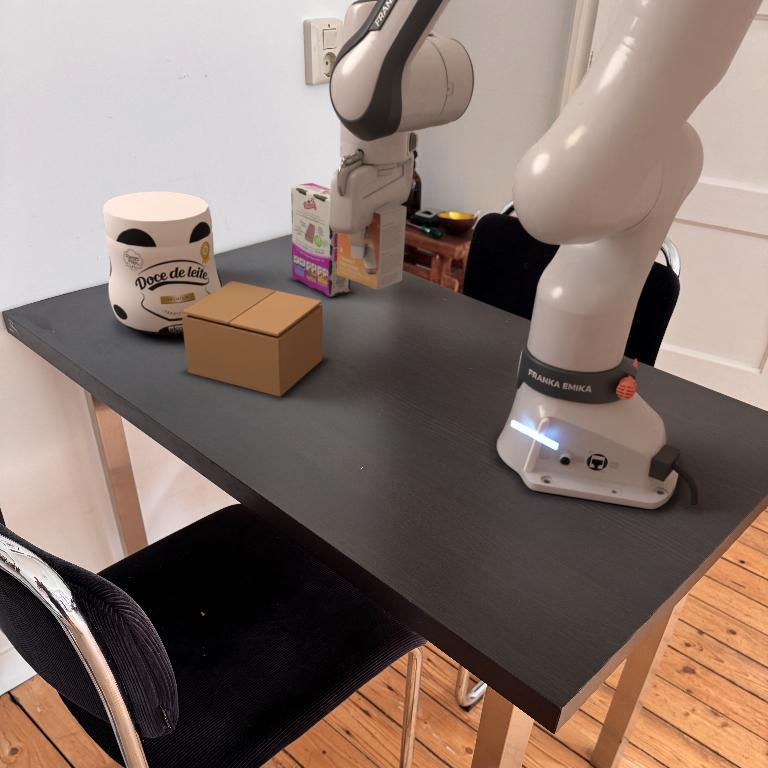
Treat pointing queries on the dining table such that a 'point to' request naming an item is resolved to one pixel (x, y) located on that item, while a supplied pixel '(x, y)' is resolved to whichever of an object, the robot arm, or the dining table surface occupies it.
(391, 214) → the small box
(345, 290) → the candy bar box
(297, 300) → the flap
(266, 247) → the dining table surface
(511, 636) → the dining table surface
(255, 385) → the carton
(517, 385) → the robot arm
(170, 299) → the doce de leite jar
